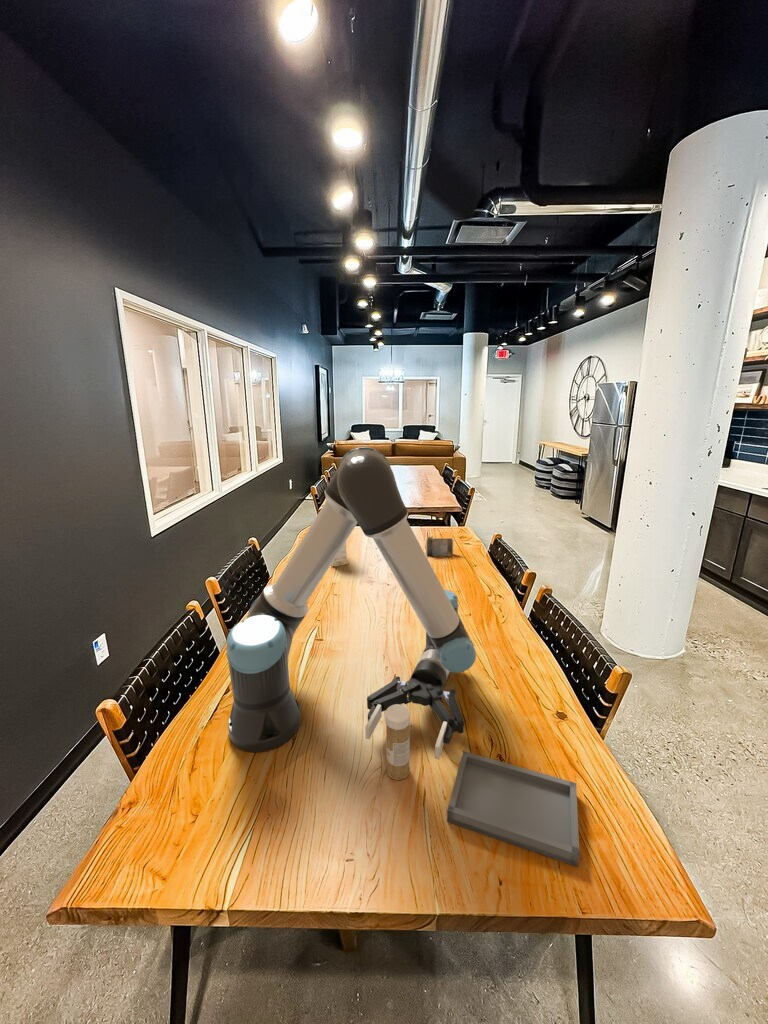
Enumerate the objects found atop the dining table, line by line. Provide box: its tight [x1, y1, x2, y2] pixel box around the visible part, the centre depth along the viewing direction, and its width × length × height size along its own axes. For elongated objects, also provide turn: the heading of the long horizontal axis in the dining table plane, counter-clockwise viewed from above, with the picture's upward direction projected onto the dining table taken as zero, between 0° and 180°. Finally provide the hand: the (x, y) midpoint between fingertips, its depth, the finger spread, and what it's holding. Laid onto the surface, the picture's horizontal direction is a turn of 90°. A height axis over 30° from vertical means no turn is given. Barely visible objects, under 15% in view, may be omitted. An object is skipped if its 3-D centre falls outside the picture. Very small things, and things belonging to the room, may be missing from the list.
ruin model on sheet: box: [425, 536, 454, 557], centre depth 187 cm, size 11×3×10 cm, turn 89°
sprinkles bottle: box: [384, 704, 411, 781], centre depth 79 cm, size 5×5×13 cm
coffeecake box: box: [330, 541, 348, 568], centre depth 182 cm, size 15×7×20 cm, turn 25°
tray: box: [446, 750, 580, 868], centre depth 73 cm, size 20×13×2 cm, turn 68°
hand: (400, 743), depth 79 cm, fingers open, 13 cm apart
